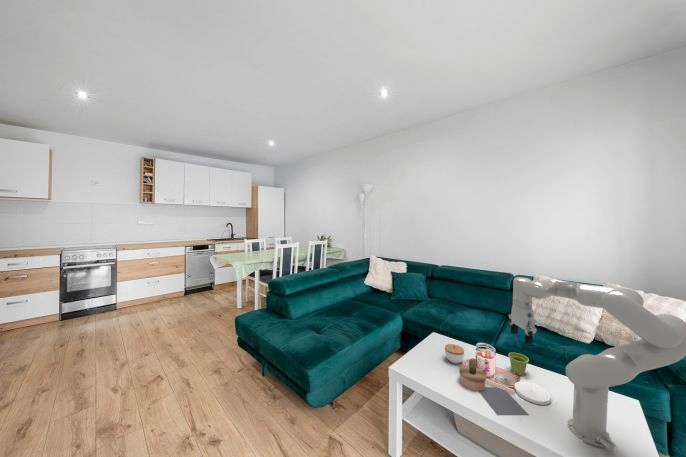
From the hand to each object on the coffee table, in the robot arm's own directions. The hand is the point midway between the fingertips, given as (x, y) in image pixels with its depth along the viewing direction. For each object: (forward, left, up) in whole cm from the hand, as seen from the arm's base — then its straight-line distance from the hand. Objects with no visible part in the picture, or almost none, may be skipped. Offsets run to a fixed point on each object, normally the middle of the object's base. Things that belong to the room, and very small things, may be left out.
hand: (521, 338), depth 120 cm
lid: (+8, +19, -23) cm, 31 cm away
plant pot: (+18, -12, -28) cm, 36 cm away
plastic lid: (0, -6, -29) cm, 29 cm away
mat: (-4, +12, -28) cm, 31 cm away
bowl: (+8, +19, -28) cm, 35 cm away
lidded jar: (+29, +19, -28) cm, 45 cm away
